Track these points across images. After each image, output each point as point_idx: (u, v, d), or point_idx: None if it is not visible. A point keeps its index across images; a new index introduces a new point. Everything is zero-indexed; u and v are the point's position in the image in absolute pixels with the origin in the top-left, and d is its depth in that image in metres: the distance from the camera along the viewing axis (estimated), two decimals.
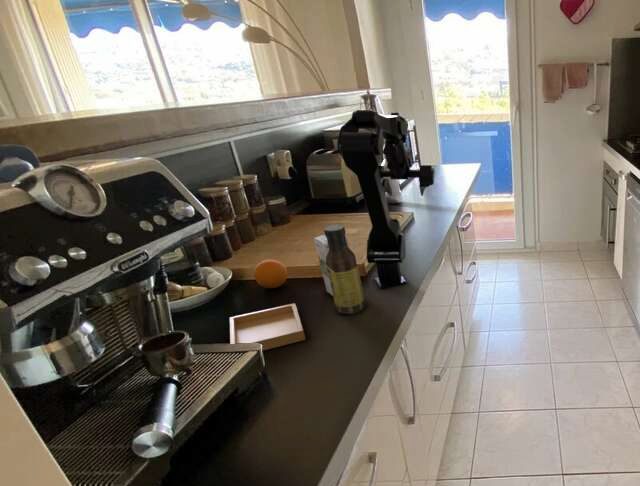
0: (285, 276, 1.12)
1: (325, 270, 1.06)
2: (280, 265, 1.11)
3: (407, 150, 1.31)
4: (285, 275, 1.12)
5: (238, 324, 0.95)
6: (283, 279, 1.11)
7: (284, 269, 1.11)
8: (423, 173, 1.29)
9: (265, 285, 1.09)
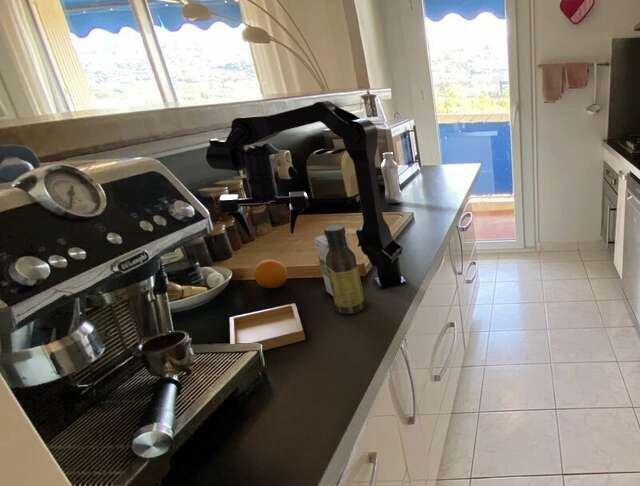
0: (285, 276, 1.12)
1: (325, 270, 1.06)
2: (280, 265, 1.11)
3: None
4: (285, 275, 1.12)
5: (238, 324, 0.95)
6: (283, 279, 1.11)
7: (284, 269, 1.11)
8: (295, 195, 1.10)
9: (265, 285, 1.09)
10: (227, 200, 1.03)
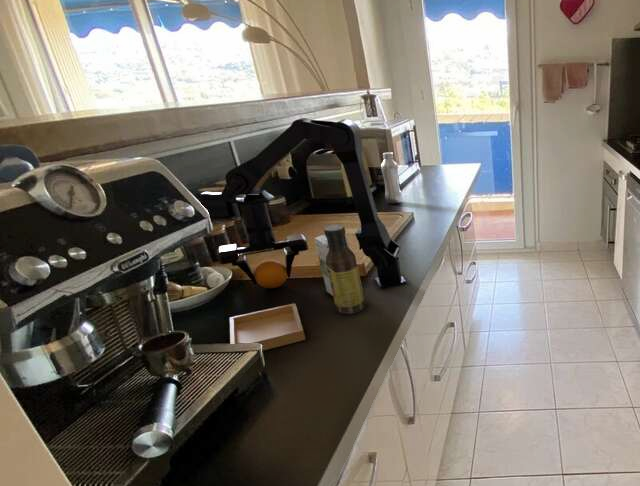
0: (285, 276, 1.12)
1: (325, 270, 1.06)
2: (280, 265, 1.11)
3: None
4: (285, 275, 1.12)
5: (238, 324, 0.95)
6: (283, 279, 1.11)
7: (284, 269, 1.11)
8: (293, 239, 1.10)
9: (265, 285, 1.09)
10: (226, 251, 1.02)
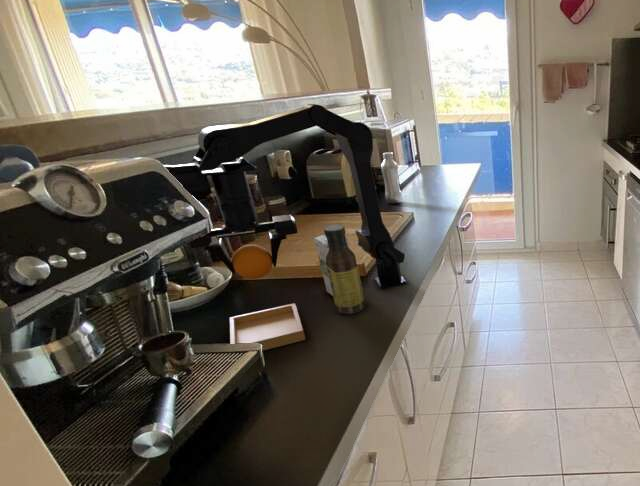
0: (270, 265, 0.93)
1: (325, 270, 1.06)
2: (264, 251, 0.92)
3: None
4: (270, 263, 0.93)
5: (238, 324, 0.95)
6: (268, 268, 0.92)
7: (269, 256, 0.93)
8: (280, 219, 0.91)
9: (245, 275, 0.91)
10: None
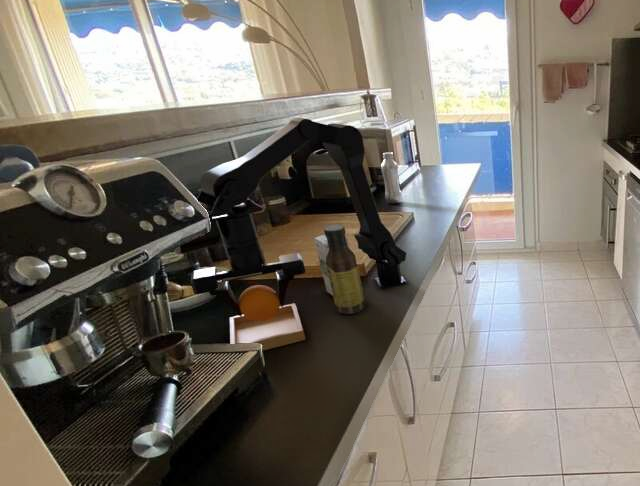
0: (277, 305, 0.90)
1: (325, 270, 1.06)
2: (271, 292, 0.89)
3: None
4: (277, 304, 0.90)
5: (238, 324, 0.95)
6: (275, 309, 0.90)
7: (276, 297, 0.90)
8: (287, 260, 0.89)
9: (252, 317, 0.88)
10: (202, 278, 0.81)
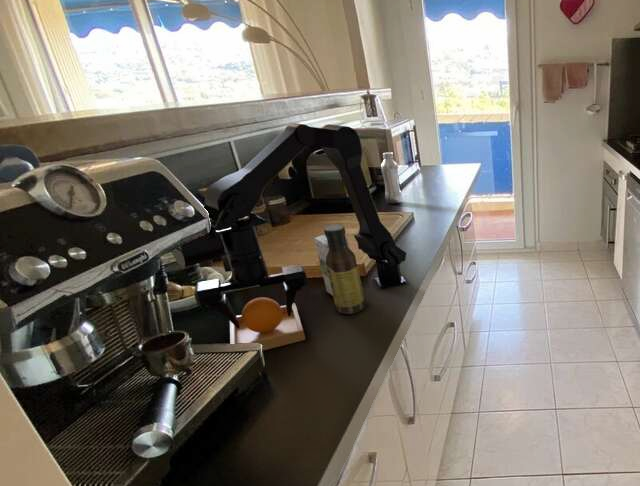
0: (280, 317, 0.92)
1: (325, 270, 1.06)
2: (274, 305, 0.90)
3: None
4: (280, 316, 0.91)
5: None
6: (278, 321, 0.91)
7: (279, 309, 0.91)
8: (290, 271, 0.90)
9: (256, 330, 0.89)
10: (206, 290, 0.82)
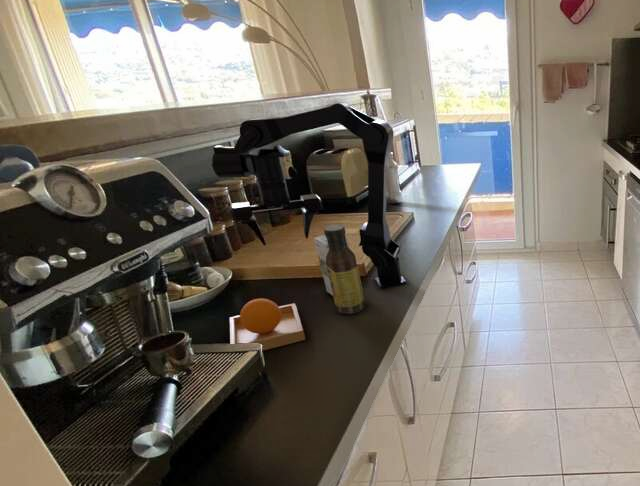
0: (279, 318, 0.91)
1: (325, 270, 1.06)
2: (271, 306, 0.90)
3: None
4: (279, 317, 0.91)
5: (238, 324, 0.95)
6: (277, 322, 0.91)
7: (276, 310, 0.91)
8: (308, 197, 1.07)
9: (255, 332, 0.89)
10: (240, 208, 0.99)
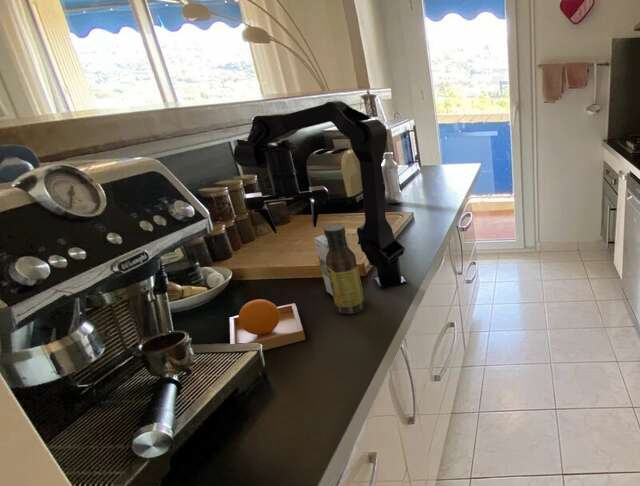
0: (278, 318, 0.91)
1: (325, 270, 1.06)
2: (269, 307, 0.89)
3: None
4: (277, 317, 0.91)
5: (238, 324, 0.95)
6: (276, 322, 0.91)
7: (275, 311, 0.90)
8: (316, 189, 1.14)
9: (255, 334, 0.89)
10: (253, 197, 1.06)
